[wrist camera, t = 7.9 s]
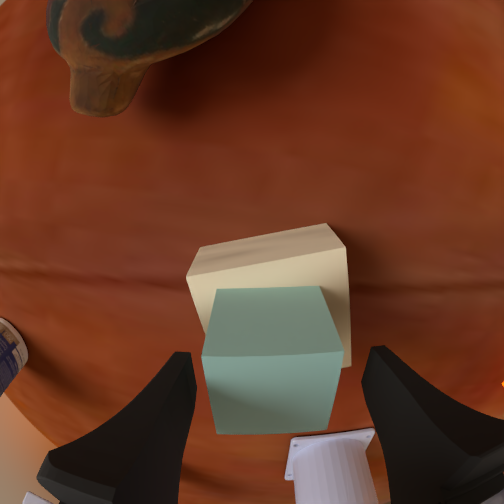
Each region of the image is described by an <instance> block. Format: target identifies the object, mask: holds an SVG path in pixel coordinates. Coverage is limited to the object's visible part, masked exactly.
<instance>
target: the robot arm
mask: <svg viewBox="0 0 504 504" xmlns="http://www.w3.org/2000/svg"><path fill="white" fill-rule="evenodd" d="M361 383H362V388H363V393H364V397H365V401H366V404H367V407H368V410H369V413H370V415H371V418H372V421H373V423H374V426H375V429H376V432H377V434H378V437H379V440H380V443H381V446H382V450H383V454H384V458H385V463H386V468H387V475H388V481H389V489H390V499H391V504H504V474H503V472H504V420H502V419H498V418H494V417H491V416H489V415H486V414H483V413H480V412H478V411H476V410H473V409H471V408H469V407H467V406H465V405H463V404H461V403H459V402H457V401H456V400H454V399H452V398H451V397H449V396H447V395H446V394H444V393H443V392H441V391H440V390H438V389H437V388H435V387H434V386H433V385H431V384H430V383H429V382H427V381H426V380H425V379H423V378H422V377H421V376H420V375H418V374H417V373H416V372H415V371H414V370H412V369H411V368H410V367H409V366H408V365H407V364H406V363H404V362H403V361H402V360H401V359H400V358H399V357H398V356H396V355H395V354H394V353H393V352H392V351H391V350H389V349H388V348H387V347H386V346H385V345H383V346H374V347H371V349H370V353H369V357H368V360H367V364H366V367H365V371H364V374H363V378H362V381H361ZM196 392H197V385H196V380H195V374H194V369H193V364H192V358H191V353H190V352H175V353H173V355H172V356H171V357H170V358H169V360H168V361H167V362H166V364H165V365H164V366H163V367H162V368H161V370H160V371H159V372H158V373H157V374H156V376H155V377H154V378H153V379H152V380H151V381H150V382H149V384H148V385H147V386H146V387H145V388H144V389H143V390H142V391H141V392H140V393H139V394H138V395H137V396H136V397H135V398H134V399H133V400H132V401H131V402H130V403H129V404H128V405H127V406H126V407H124V408H123V409H122V410H121V411H120V412H118V413H117V414H116V415H115V416H113V417H112V418H111V419H109V420H108V421H107V422H105V423H104V424H102V425H101V426H99V427H98V428H96V429H95V430H93V431H91V432H90V433H88V434H86V435H84V436H83V437H81V438H79V439H77V440H75V441H73V442H71V443H68V444H66V445H63V446H61V447H58V448H56V449H54V450H51V451H49V452H48V454H47V456H46V457H45V459H44V461H43V463H42V466H41V468H40V470H39V472H38V475H37V480H38V482H39V483H40V484H41V485H42V486H43V487H44V488H45V489H46V490H48V491H49V492H50V493H51V494H52V495H53V496H54V497H56V498H57V499H58V500H60V502H59V504H178V493H179V482H180V472H181V464H182V458H183V453H184V449H185V445H186V441H187V437H188V433H189V429H190V425H191V421H192V417H193V413H194V409H195V401H196ZM374 433H375V430H374V428H368V429H363V430H356V431H350V432H343V433H335V434H326V435H317V436H305V437H295V438H293V439H291V443H290V449H289V455H288V461H287V466H286V472H285V479H286V480H294V487H295V498H296V504H379V503H378V499H377V495H376V491H375V488H374V484H373V480H372V476H371V472H370V469H369V465H368V461H367V458H366V454H365V451H366V449H367V447H368V445H369V443H370V441H371V439H372V437H373V435H374ZM22 504H53V503H51V502H49V501H47V500H45V499H43V498H41V497H39V496H37V495H35V494H33V493H32V492H30V491H29V492H27V493H26V496H25V498H24V501H23V503H22Z"/></svg>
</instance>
